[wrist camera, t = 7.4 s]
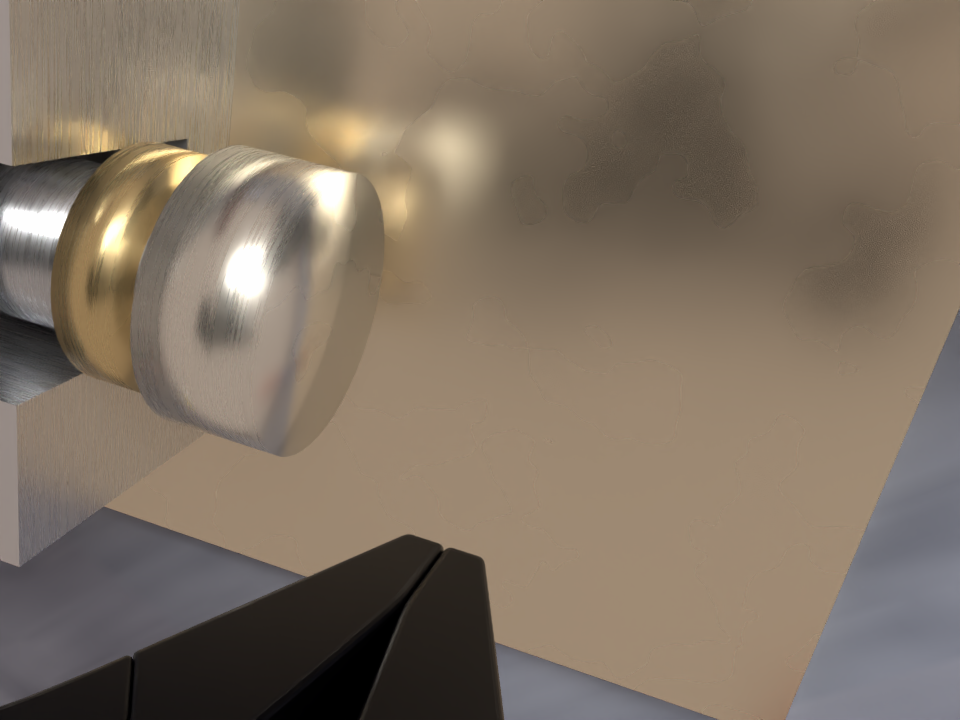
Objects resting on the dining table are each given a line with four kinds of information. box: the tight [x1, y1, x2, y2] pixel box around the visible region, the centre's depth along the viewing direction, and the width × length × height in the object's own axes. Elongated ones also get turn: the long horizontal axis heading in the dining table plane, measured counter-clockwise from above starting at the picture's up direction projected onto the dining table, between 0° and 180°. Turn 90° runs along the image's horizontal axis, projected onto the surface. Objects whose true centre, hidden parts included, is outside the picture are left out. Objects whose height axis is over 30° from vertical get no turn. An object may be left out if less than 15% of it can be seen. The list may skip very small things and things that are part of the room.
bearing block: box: [0, 0, 960, 720], centre depth 16 cm, size 25×16×7 cm, turn 79°
